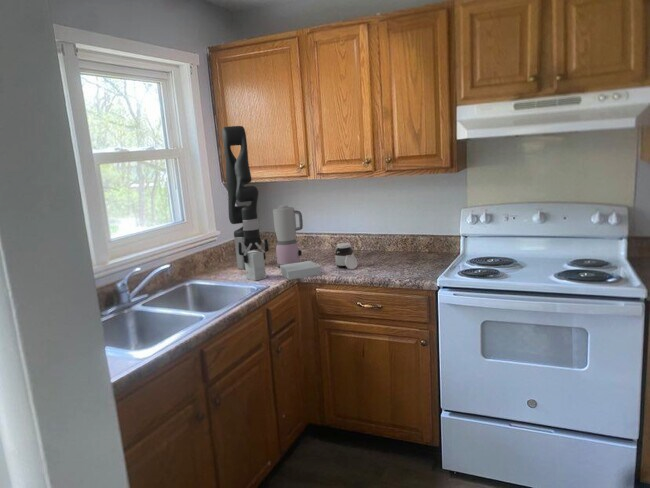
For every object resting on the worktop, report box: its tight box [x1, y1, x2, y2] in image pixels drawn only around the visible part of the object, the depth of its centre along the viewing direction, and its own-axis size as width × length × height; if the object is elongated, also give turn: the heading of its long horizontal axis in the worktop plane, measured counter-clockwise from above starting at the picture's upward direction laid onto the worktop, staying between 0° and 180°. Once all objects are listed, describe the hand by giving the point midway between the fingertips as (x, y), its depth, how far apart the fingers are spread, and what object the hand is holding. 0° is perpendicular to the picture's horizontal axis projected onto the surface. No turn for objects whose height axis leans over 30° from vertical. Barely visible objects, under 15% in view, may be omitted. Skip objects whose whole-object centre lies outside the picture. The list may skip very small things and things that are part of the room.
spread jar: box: [334, 242, 358, 270], centre depth 243 cm, size 12×11×12 cm
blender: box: [272, 204, 304, 269], centre depth 255 cm, size 16×12×32 cm
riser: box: [279, 260, 322, 281], centre depth 238 cm, size 16×16×4 cm
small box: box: [244, 250, 267, 281], centre depth 236 cm, size 8×6×13 cm
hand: (254, 261), depth 235 cm, fingers closed on small box, 8 cm apart
